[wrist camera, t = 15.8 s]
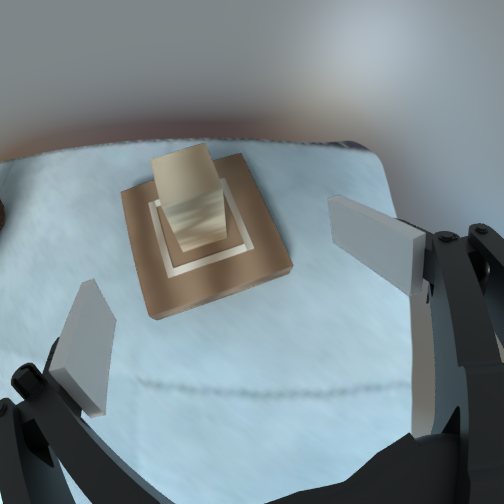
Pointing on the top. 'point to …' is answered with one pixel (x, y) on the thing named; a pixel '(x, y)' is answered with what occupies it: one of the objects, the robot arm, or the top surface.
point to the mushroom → (1, 214)
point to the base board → (208, 256)
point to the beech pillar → (191, 196)
